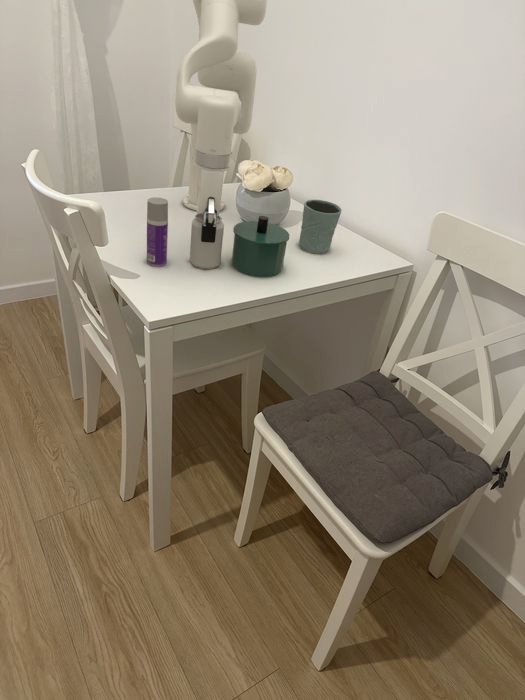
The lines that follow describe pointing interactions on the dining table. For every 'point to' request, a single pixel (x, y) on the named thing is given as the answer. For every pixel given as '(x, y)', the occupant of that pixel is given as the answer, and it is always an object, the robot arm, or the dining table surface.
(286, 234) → the pot lid
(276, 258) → the pot
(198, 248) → the can
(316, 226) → the green textured cup
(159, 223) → the container
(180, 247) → the dining table surface
